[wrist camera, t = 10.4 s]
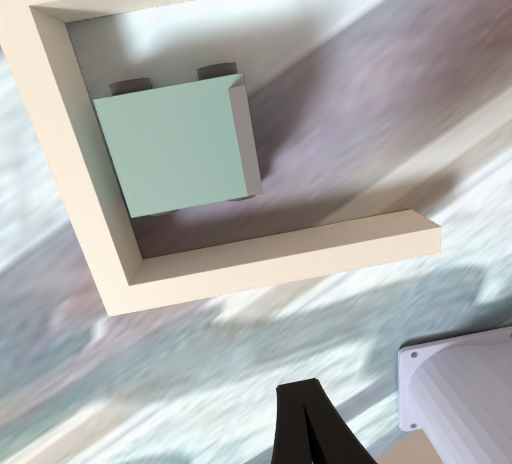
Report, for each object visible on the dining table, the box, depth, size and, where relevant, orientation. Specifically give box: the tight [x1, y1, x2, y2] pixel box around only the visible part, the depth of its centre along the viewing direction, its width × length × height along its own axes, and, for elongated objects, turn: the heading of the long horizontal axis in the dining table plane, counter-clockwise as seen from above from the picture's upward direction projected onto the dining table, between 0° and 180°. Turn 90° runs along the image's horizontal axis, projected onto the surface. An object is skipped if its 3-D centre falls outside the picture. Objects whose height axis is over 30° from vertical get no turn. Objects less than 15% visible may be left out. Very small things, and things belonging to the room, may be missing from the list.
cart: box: [93, 62, 263, 218], centre depth 15 cm, size 6×6×5 cm
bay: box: [0, 0, 442, 316], centre depth 16 cm, size 18×15×3 cm
